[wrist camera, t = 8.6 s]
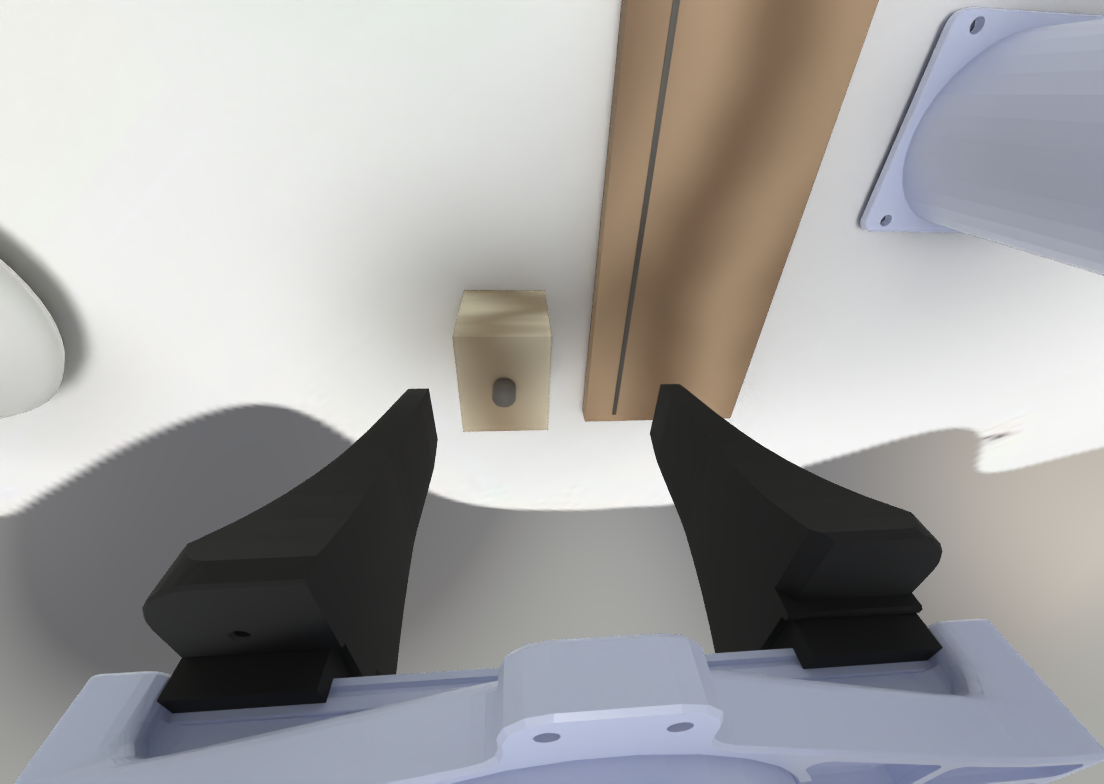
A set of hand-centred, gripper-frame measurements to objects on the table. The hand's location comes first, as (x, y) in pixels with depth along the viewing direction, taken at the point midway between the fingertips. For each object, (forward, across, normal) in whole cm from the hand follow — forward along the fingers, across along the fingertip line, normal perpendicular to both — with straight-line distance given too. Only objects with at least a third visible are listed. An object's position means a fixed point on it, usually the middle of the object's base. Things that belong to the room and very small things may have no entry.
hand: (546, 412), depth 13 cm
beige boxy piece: (+10, +2, +2) cm, 10 cm away
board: (+10, -8, -2) cm, 13 cm away
